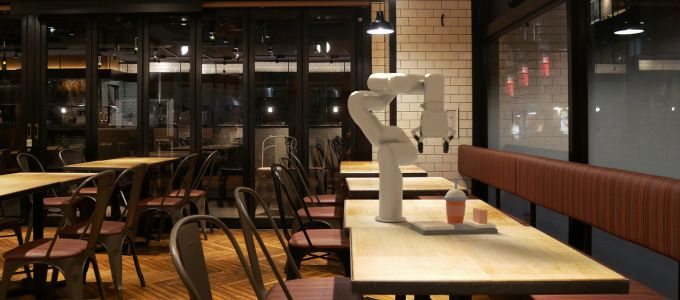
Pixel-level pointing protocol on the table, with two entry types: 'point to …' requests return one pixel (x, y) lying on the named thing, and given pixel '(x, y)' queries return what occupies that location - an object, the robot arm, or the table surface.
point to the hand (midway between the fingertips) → (433, 153)
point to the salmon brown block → (480, 219)
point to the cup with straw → (455, 205)
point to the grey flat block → (448, 228)
